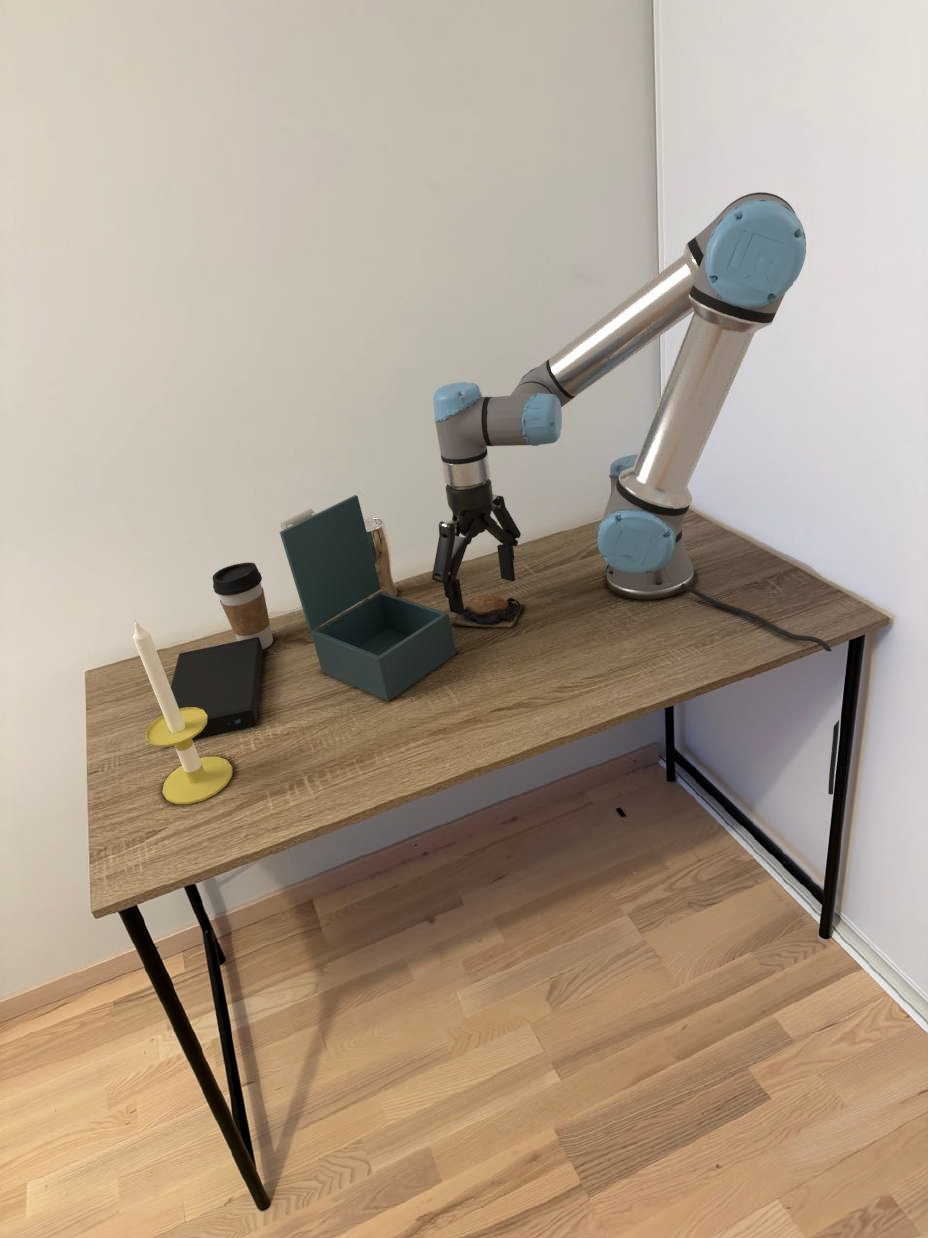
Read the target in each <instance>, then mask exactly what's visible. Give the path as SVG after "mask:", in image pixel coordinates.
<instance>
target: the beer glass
mask: <svg viewBox="0 0 928 1238" xmlns="http://www.w3.org/2000/svg"><path fill="white" fill-rule="evenodd" d="M363 519H364V523H365V527H366V531H367V535H368V539H369V543H370V547H371V551H372V555H373V559H374V563H375V567H376V571H377V575H378V579H379V583H380V587H381V589H380V590H379V591H377V592H375V593H374V594H372V595H370V596H369V597H367V598H366V599H368V598H370V597H371V596H373V595H375V594H377V593H378V592H380V591H381V592H384V593H387V594H390V595H394V596H397V597H398V589H397V587H396V584H395V582H394V578H393V574H392V573H393V572H392V550H391V543H390V539H389V534H388V531H387V527H386V525H385V521H384V519H382V518H380V517H367V518H363Z"/></svg>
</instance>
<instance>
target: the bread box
mask: <svg viewBox="0 0 928 1238" xmlns="http://www.w3.org/2000/svg"><path fill="white" fill-rule="evenodd" d="M310 634H311V637H312V640H313V644H314V648H315V652H316V656H317V658H318V662H319V666H320V670H321V672H322V673H324V674H326V675H328V676H331V677H332V678H335V679H336V680H340V681H342V682H344V683H346V684H348V685H351V686H353V687H354V688H357V689H359V690H362V691H365V692H366V693H367V694H371V695H373V696H375V697H377V698H379V699H381V700H384V701H386V702H390V701H391V700H393V699H395V698H396V697H397V696H398V695H400V694H402V693H403V692H404V691H405V690H407V689H409V688H410V687H412V686H413V685H414V684H415V683H417V682H419V681H420V680H421V679H423V678H424V677H425V676H427V675H428V674H430V673H431V672H432V671H434V670H436V669H437V668H438V667H439V666H441V665H442V664H444V663H445V662H446V661H448V660H449V659H451V658H452V657H454V656H455V655H457V654H456V653H457V652H456V646H455V641H454V636H453V630H452V624H451V620H450V613H448V612H445V611H442V610H439V609H436V608H433V607H430V606H427V605H424V604H421V603H418V602H415V601H412V600H409V599H406V598H402V597H400V596H398V595H397V596H394V595H390V594H387V593H384V592H381V591H380V592H378V593H377V594H375V595H373V596H371V597H370V598H368V599H367V598H365V599H364V600H362V601H360V602H359V603H357V604H355V605H354V606H352V607H350V608H349V609H347V610H345V611H344V612H342V613H340V614H339V615H337V616H335V617H333V618H332V619H330V620H328V621H327V622H325V623H323V624H322V625H320V626H318V627H317V628H315V629H313V630H312V631H311V633H310Z"/></svg>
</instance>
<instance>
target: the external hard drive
mask: <svg viewBox="0 0 928 1238" xmlns="http://www.w3.org/2000/svg"><path fill="white" fill-rule="evenodd" d="M263 653H264V649H263V648H262V645H261V642H260V639H259V637H255V638H250V639H246V640H241V641H238V640H237V641H232V642H227V643H221V644H218V645H213V646H209V647H204V648H199V649H194V650H189V651H184V652H180V653H179V654H178V656H177V660H176V665H175V669H174V672H173V675H172V680H171V684H170V687H171V690H172V692H173V695H174V697H175V700H176V703H177V705H178V708H179V709H181V708H185V707H196V708H199V709H202V710H204V711H205V713H206V714H207V715H208V718H207V724H206V726H205V727H204V729H203V730H202V731H201V732H200V733H199V734H197V735H196V736H195V737H194V738H192V740H193V741H194V740H198V739H203V738H206V737H210V736H215V735H219V734H225V733H230V732H233V731H234V732H235V731H238V730H243V729H248V728H252V727H256V726H258V725H257V723H258V714H259V713H258V712H259V700H260V699H259V698H260V690H261V689H260V688H261V678H262V677H261V676H262V667H263V666H262V665H263Z"/></svg>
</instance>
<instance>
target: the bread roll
mask: <svg viewBox="0 0 928 1238" xmlns="http://www.w3.org/2000/svg"><path fill="white" fill-rule="evenodd" d="M463 606H464V613H465V614H463V615H459V614H458V617H457V619H455V625H457V626H463V627H467V626H468V627H475V628H478V627H479V628H493V629H495V628H513V626H514V625H515V624H516V622H517V620H518V616H520V614H521V610H522V606H523V605H522V604H521V603H520V601H518V600H516V599H515V598H513V597H508V598H507V599H504V598H503V597H501V596H499V595H495V594H493V593H492V594H490V593H486V594H480V595H477V596H476V597H473V598H472V599H471V600H470V601H468V602H466V603H465V605H463Z"/></svg>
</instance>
